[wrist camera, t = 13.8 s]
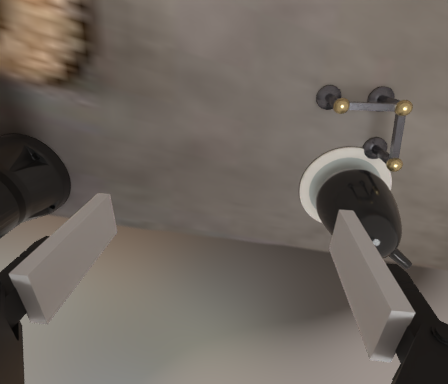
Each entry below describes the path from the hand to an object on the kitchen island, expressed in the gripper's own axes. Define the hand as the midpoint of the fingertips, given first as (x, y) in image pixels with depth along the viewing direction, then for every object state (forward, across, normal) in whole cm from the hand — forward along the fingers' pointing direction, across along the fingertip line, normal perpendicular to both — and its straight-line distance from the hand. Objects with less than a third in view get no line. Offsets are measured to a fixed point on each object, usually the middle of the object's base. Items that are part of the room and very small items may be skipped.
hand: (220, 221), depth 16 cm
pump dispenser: (+28, +17, -11) cm, 34 cm away
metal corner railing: (+28, +16, 0) cm, 33 cm away
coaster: (+28, +17, -11) cm, 35 cm away
